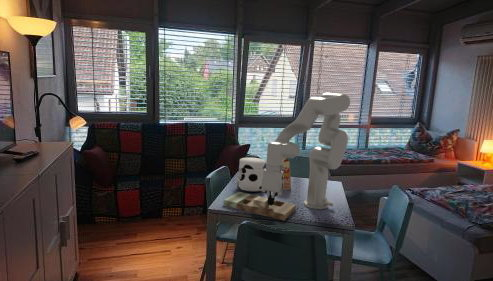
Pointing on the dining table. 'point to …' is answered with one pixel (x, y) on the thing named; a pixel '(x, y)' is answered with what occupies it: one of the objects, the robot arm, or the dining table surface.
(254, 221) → the dining table surface
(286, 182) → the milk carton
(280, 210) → the wooden puzzle board
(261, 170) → the milk container
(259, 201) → the block
